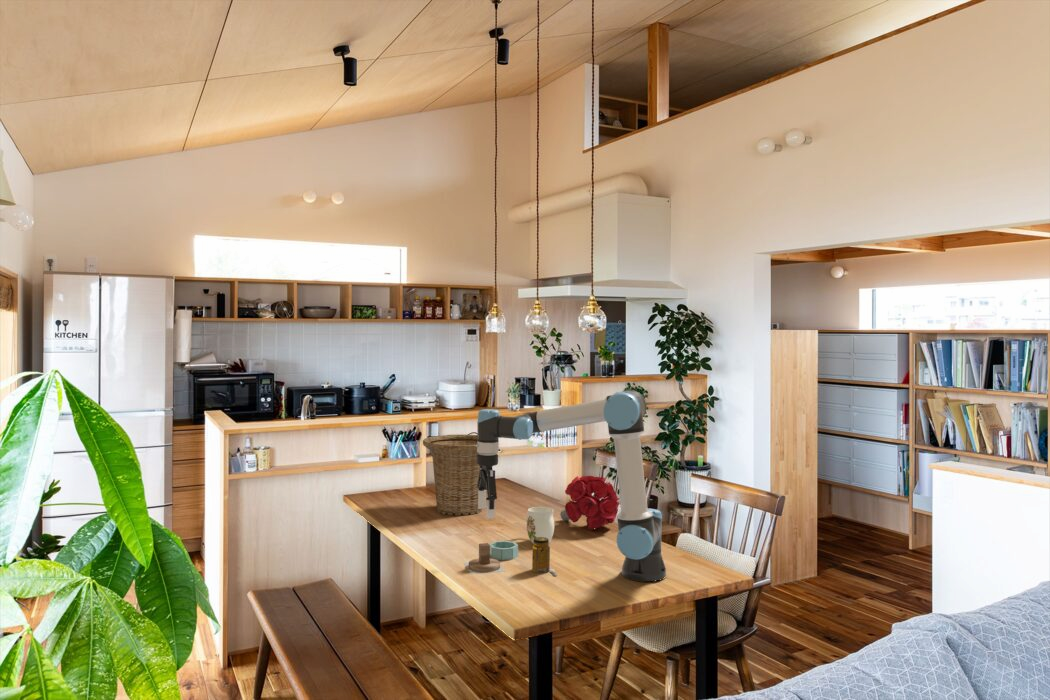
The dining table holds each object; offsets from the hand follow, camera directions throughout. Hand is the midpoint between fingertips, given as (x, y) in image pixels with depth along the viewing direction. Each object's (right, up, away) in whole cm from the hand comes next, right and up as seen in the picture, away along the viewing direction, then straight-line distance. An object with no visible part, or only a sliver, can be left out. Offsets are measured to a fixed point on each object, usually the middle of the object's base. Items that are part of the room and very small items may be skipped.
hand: (486, 513), depth 257 cm
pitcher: (+19, -19, +34) cm, 43 cm away
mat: (-1, -20, 0) cm, 20 cm away
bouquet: (+41, -19, +58) cm, 73 cm away
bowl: (+6, -20, +13) cm, 24 cm away
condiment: (+20, -20, -3) cm, 29 cm away
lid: (-1, -19, 0) cm, 19 cm away
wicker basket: (-17, -18, +85) cm, 88 cm away
